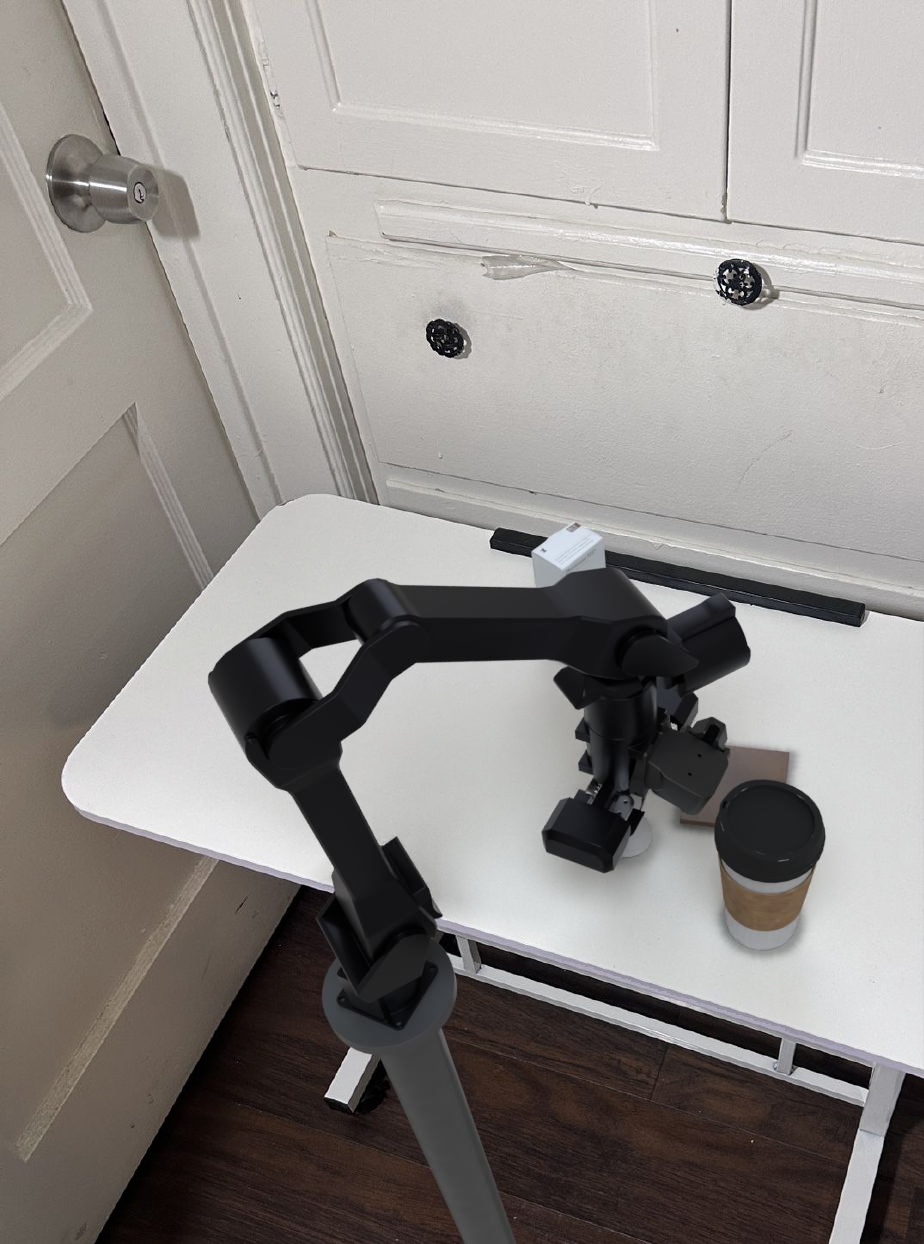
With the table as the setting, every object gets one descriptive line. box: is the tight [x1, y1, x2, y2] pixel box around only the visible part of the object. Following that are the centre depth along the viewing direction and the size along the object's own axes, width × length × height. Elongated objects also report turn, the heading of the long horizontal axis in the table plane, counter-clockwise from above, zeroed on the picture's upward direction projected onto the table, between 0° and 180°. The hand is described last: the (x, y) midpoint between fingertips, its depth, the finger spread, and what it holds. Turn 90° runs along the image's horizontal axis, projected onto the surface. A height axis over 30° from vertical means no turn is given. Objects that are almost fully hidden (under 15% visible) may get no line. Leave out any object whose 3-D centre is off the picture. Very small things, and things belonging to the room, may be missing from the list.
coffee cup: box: [713, 779, 827, 951], centre depth 97 cm, size 8×8×15 cm
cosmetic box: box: [530, 521, 607, 588], centre depth 120 cm, size 6×4×12 cm
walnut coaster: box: [679, 744, 790, 828], centre depth 112 cm, size 9×9×1 cm
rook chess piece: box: [619, 790, 653, 858], centre depth 106 cm, size 4×4×8 cm
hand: (626, 826), depth 107 cm, fingers closed on rook chess piece, 3 cm apart
